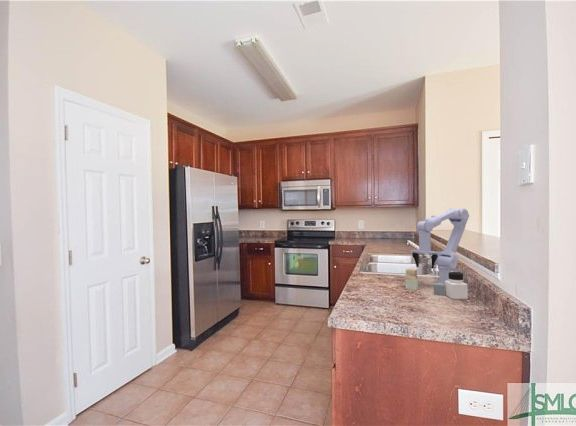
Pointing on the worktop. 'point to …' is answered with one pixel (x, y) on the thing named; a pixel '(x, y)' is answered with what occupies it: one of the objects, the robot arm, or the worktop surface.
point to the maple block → (411, 274)
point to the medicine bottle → (456, 286)
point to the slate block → (439, 289)
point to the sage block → (411, 284)
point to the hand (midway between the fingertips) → (425, 267)
